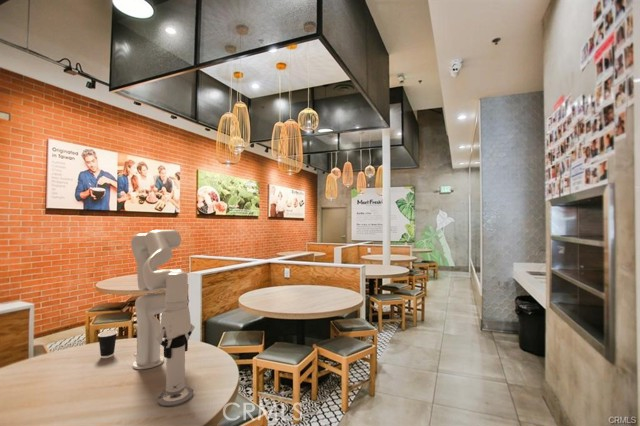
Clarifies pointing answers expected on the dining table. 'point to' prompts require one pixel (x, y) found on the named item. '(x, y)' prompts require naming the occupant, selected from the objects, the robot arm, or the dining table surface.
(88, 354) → the dining table surface
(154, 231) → the robot arm
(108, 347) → the dixie cup
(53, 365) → the dining table surface
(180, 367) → the travel mug
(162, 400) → the gray rimmed disc
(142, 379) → the dining table surface
